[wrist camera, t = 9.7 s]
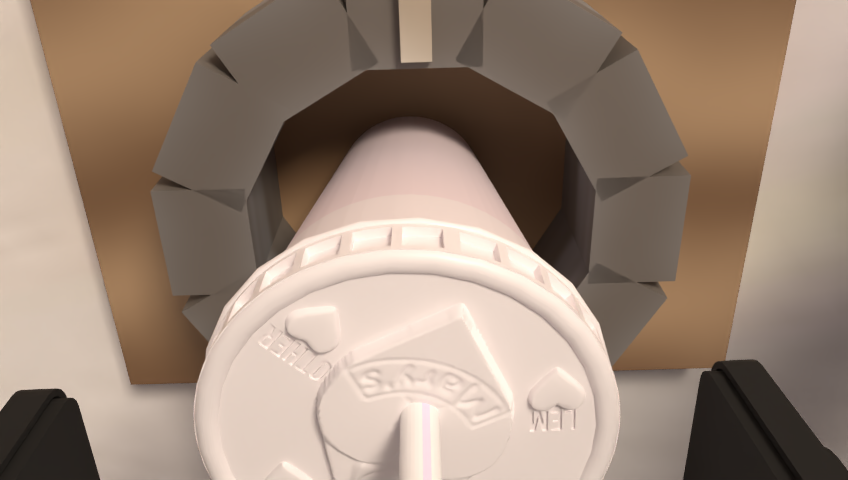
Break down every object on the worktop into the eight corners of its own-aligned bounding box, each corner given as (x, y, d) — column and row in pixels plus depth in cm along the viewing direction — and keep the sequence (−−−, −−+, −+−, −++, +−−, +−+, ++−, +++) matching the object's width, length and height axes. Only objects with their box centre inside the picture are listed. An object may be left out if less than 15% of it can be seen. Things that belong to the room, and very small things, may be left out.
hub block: (706, 338, 24) (779, 458, 19) (146, 355, 24) (80, 477, 19) (786, -109, 18) (922, -98, 13) (39, -86, 18) (-97, -68, 13)
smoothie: (570, 109, 18) (893, 615, 6) (481, 313, 21) (575, 949, 9) (324, 27, 18) (103, 433, 5) (264, 252, 20) (24, 873, 8)
